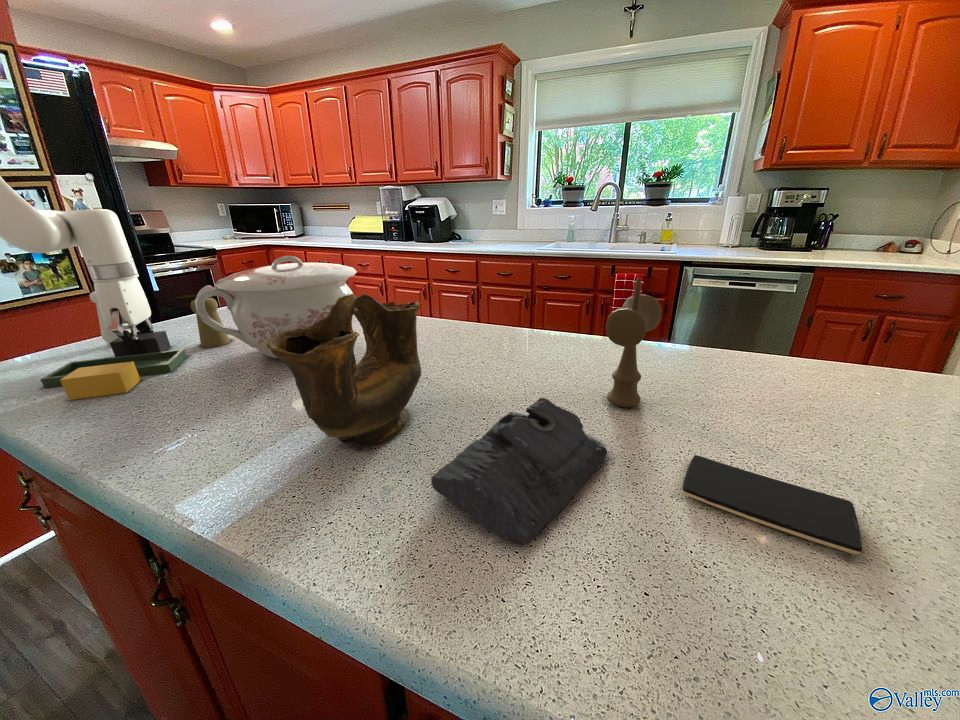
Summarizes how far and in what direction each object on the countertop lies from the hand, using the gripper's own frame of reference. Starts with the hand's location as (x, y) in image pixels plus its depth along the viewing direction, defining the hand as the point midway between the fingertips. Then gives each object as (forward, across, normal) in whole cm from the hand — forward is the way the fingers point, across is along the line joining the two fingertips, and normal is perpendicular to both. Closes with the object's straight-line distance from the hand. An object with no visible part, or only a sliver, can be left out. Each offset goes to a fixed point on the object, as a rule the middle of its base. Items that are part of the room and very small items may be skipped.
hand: (144, 351), depth 90 cm
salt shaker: (+1, -10, -9) cm, 14 cm away
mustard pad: (0, +20, +2) cm, 21 cm away
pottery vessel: (+1, +50, +48) cm, 70 cm away
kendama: (+1, +56, +87) cm, 104 cm away
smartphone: (+1, +80, +87) cm, 119 cm away
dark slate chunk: (+1, +66, +65) cm, 93 cm away
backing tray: (0, +10, 0) cm, 11 cm away
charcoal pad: (0, 0, 0) cm, 0 cm away
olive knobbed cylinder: (+1, -2, +14) cm, 14 cm away
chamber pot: (+1, +10, +35) cm, 37 cm away
